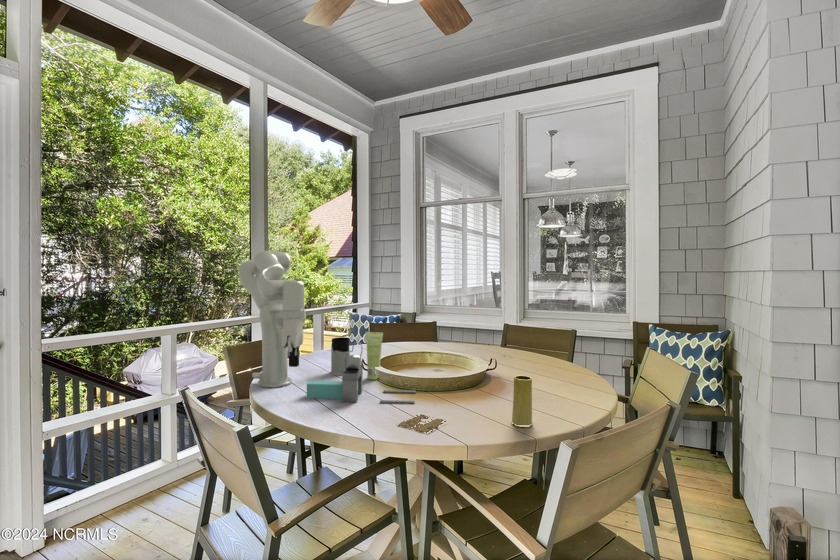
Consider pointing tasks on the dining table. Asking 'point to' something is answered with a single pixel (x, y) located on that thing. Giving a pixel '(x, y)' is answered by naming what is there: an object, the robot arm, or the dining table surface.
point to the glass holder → (340, 354)
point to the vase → (522, 400)
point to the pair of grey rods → (397, 400)
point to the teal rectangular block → (324, 389)
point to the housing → (352, 378)
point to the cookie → (422, 428)
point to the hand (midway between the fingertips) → (294, 366)
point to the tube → (373, 352)
